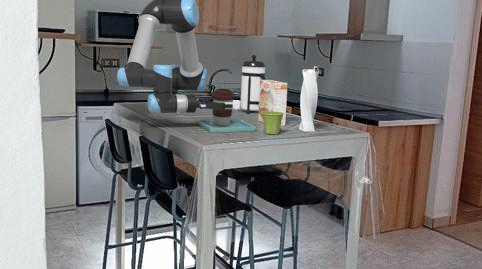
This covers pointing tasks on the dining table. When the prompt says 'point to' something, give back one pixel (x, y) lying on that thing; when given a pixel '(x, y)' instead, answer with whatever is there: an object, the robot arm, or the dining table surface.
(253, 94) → the coffee press
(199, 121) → the tray
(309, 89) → the skyscraper
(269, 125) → the plant pot
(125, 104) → the dining table surface
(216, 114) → the coffee cup
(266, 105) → the coffeecake box
